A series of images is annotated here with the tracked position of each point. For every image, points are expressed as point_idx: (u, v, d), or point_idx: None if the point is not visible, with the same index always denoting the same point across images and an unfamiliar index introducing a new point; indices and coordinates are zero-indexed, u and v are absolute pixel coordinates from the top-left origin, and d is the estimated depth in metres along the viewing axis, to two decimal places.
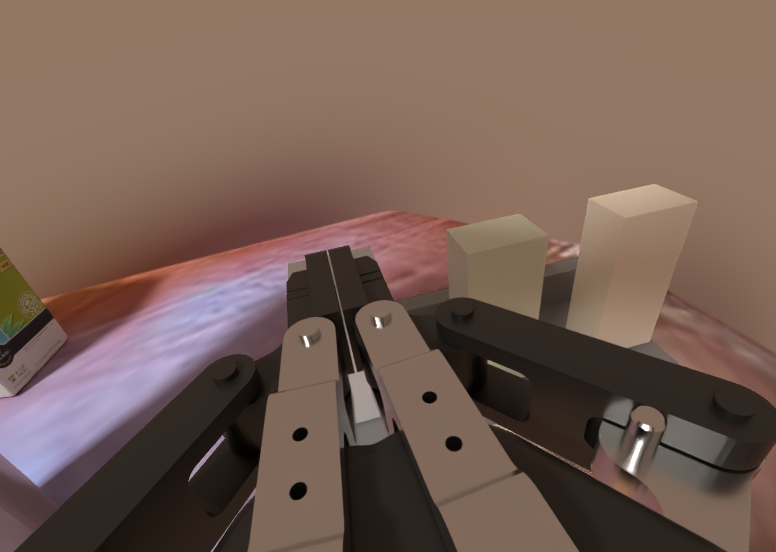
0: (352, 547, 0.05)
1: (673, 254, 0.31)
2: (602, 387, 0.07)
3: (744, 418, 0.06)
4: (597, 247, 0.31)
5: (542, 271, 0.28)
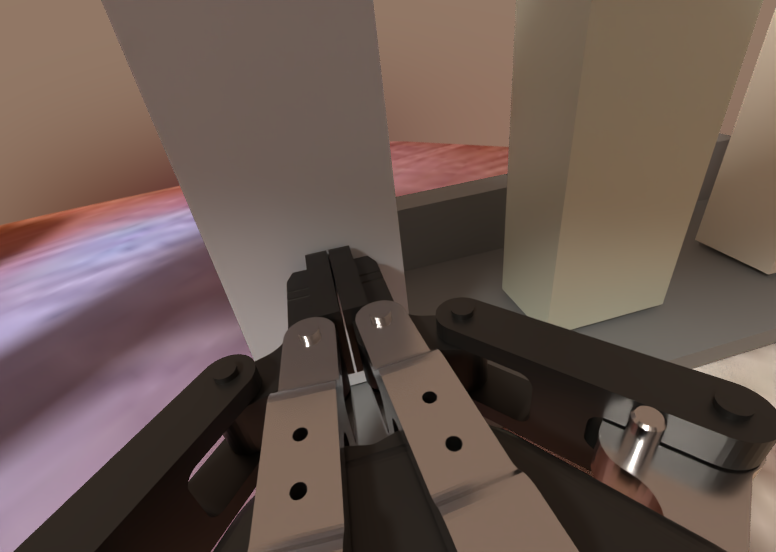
0: (352, 547, 0.05)
1: None
2: (602, 387, 0.07)
3: (744, 418, 0.06)
4: None
5: (751, 22, 0.12)
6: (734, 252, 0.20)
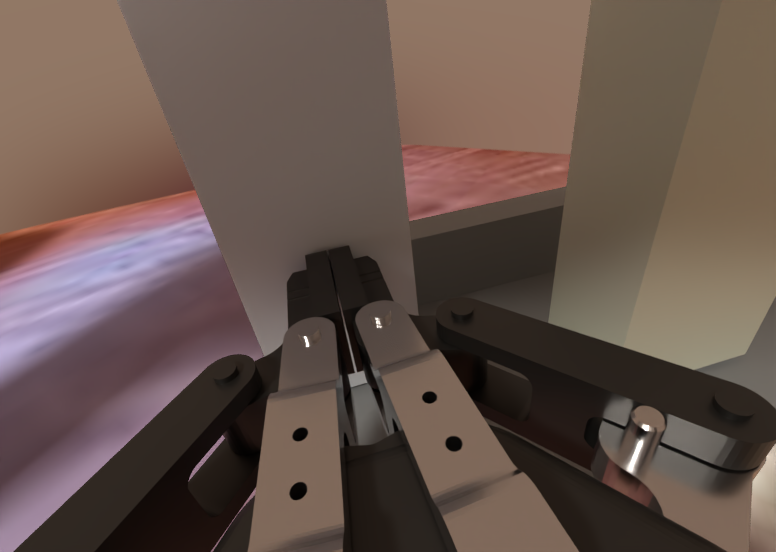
0: (352, 547, 0.05)
1: None
2: (602, 387, 0.07)
3: (744, 418, 0.06)
4: None
5: None
6: None
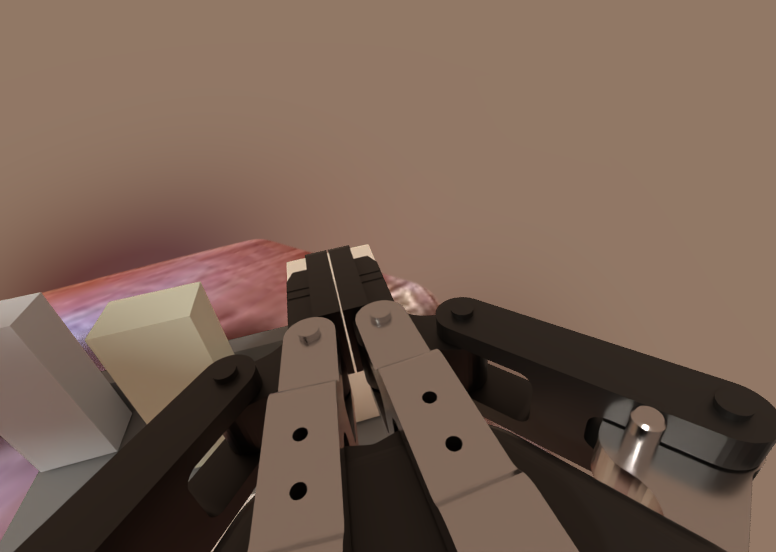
0: (352, 547, 0.05)
1: None
2: (602, 387, 0.07)
3: (744, 418, 0.06)
4: None
5: (204, 351, 0.25)
6: None
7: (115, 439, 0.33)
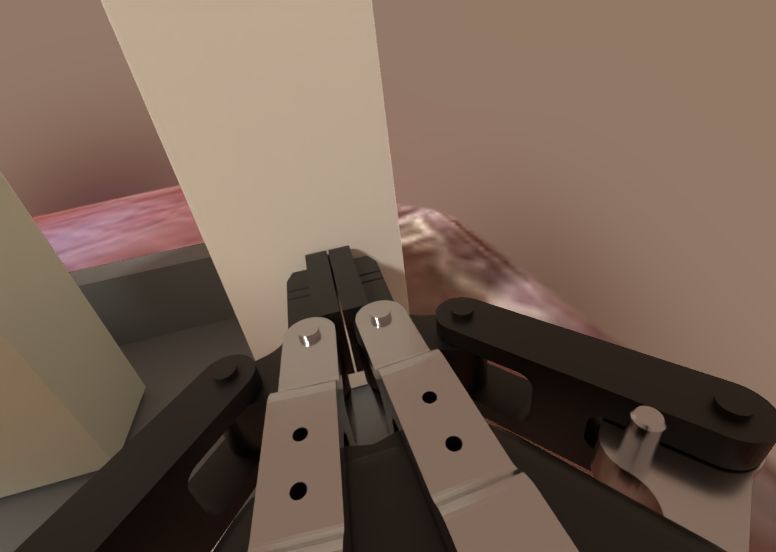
0: (352, 547, 0.05)
1: (369, 146, 0.11)
2: (602, 387, 0.07)
3: (744, 418, 0.06)
4: None
5: None
6: None
7: None
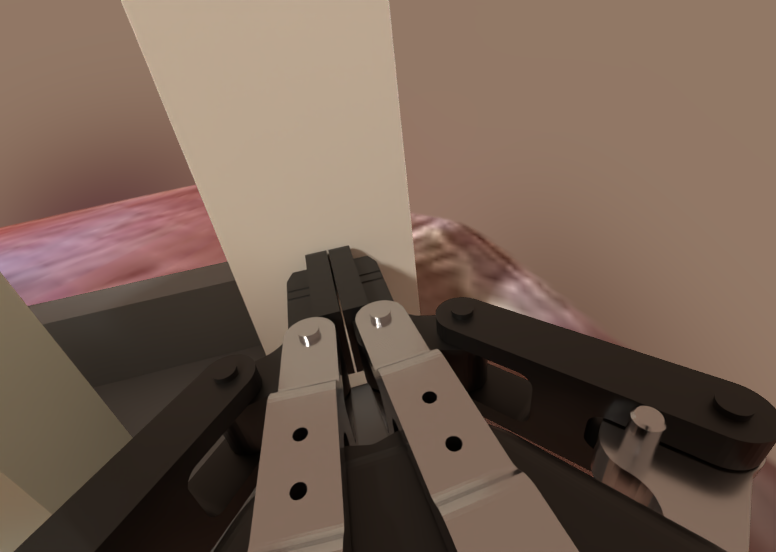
0: (352, 547, 0.05)
1: (383, 143, 0.11)
2: (602, 387, 0.07)
3: (744, 418, 0.06)
4: None
5: None
6: None
7: None
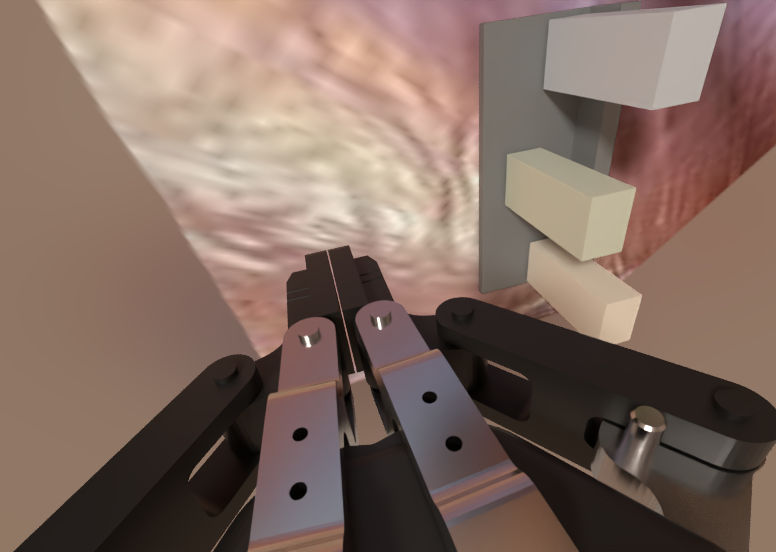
0: (352, 547, 0.05)
1: (571, 320, 0.45)
2: (602, 387, 0.07)
3: (744, 418, 0.06)
4: (601, 281, 0.41)
5: (561, 245, 0.37)
6: (544, 240, 0.50)
7: None
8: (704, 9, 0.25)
